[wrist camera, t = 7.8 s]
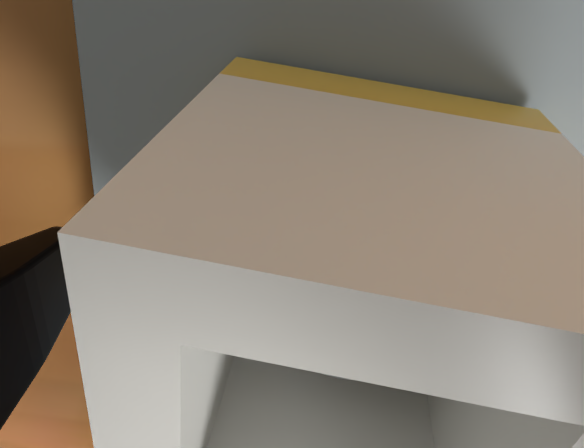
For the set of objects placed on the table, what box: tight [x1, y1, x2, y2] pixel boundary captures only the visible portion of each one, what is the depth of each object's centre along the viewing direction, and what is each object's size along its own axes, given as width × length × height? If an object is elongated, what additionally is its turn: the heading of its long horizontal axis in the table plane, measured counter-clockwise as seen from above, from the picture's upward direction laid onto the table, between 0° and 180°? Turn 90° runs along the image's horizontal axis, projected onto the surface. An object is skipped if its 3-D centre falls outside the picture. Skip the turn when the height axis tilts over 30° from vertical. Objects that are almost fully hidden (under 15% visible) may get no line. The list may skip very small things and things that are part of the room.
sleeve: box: [57, 57, 584, 448], centre depth 8 cm, size 6×6×6 cm
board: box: [72, 0, 584, 380], centre depth 12 cm, size 20×12×5 cm, turn 172°
